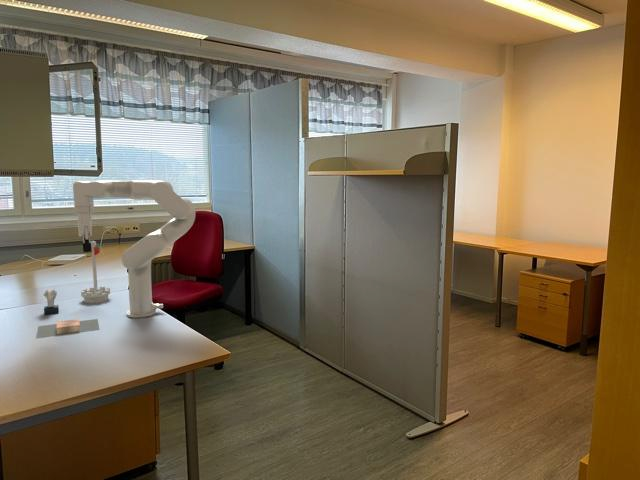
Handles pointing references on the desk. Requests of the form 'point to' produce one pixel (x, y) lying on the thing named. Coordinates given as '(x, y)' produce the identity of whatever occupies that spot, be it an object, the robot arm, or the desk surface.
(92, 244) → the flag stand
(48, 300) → the watch
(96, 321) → the mat
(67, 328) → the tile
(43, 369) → the desk surface
